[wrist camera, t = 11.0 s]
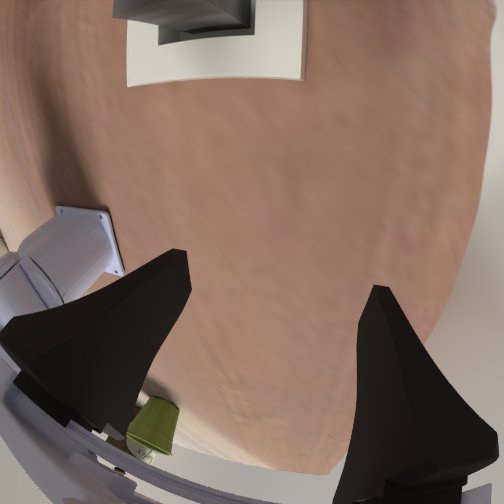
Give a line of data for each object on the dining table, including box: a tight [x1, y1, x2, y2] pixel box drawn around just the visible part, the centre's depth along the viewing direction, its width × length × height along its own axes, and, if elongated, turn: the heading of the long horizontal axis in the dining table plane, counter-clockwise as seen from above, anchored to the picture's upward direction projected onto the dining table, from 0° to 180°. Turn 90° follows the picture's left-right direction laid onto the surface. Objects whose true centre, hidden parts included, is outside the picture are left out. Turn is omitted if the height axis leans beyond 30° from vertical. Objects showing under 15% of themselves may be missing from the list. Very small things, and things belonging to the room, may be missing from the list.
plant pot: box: [126, 397, 179, 456], centre depth 47 cm, size 12×12×11 cm
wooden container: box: [106, 407, 157, 475], centre depth 58 cm, size 15×15×22 cm
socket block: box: [127, 0, 308, 87], centre depth 11 cm, size 11×11×3 cm
